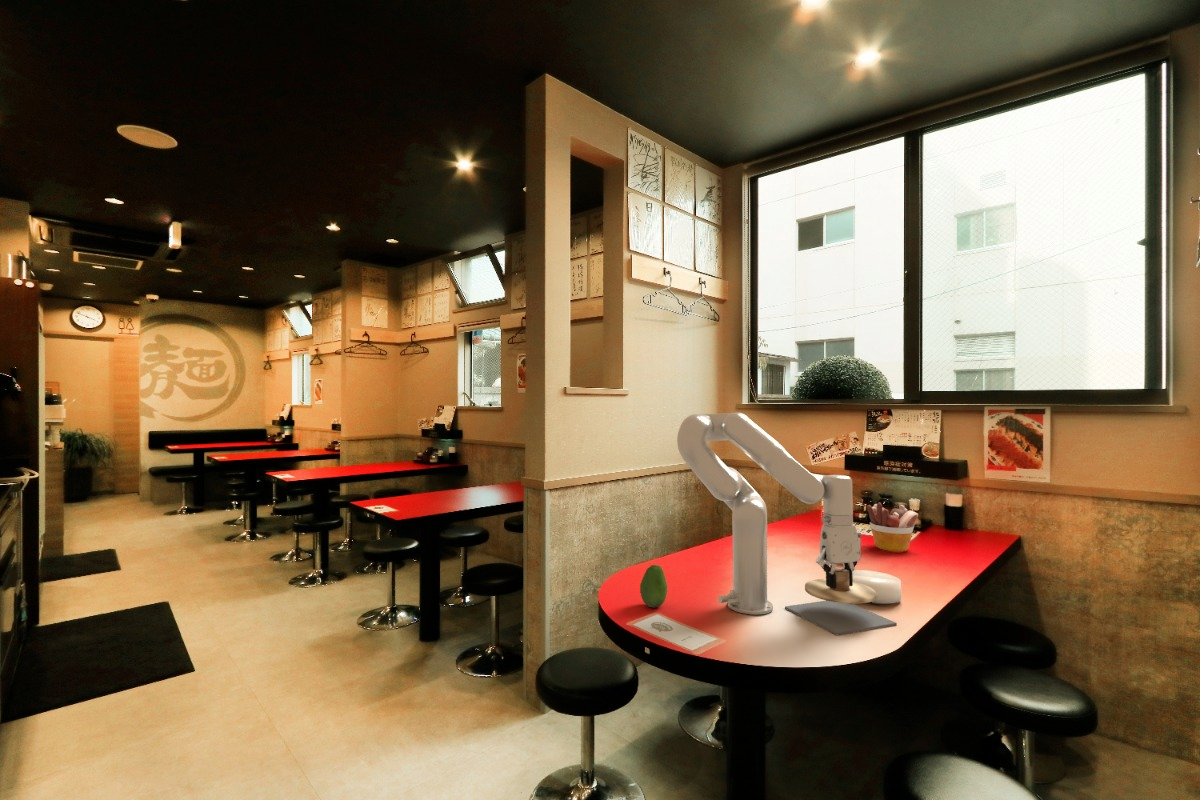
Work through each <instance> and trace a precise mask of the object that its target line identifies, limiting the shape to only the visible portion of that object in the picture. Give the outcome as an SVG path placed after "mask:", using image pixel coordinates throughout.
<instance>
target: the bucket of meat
mask: <svg viewBox="0 0 1200 800" xmlns="http://www.w3.org/2000/svg"><path fill="white" fill-rule="evenodd" d="M898 507H899V508H892V509H891V511H889V509H887V508H885V507H883V504H882V503H881V502H878V503H875V504H873V506H872V505H871V504H869V505H866V509H867V512H868V516H869V519H870V522H869V526H870V528H871V534H872V537H873V542H874V546H875V547H876V548H877V547H878V548H877V549H879V548H880V549H879V550H881V549H883V550H882V551H884V550H888V551H887V552H889V551H905V552H907V551H908V549H909V548H910V544H911V540H912V536H913V531H914V528H915V524H916V522H917V519H918V517H919V513H917V512H915V511H913V510H908V509H907V508H906V506H905V505H902V504H901V505H899V506H898Z"/></svg>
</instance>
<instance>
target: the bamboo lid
mask: <svg viewBox="0 0 1200 800" xmlns="http://www.w3.org/2000/svg"><path fill="white" fill-rule="evenodd" d="M834 574H836V589H833V588H830V587H828V586H826V578H820V579H817V578H816V579H812V580H808V581H807V582H805V584H804V591H805V593H807V594H808V595H810V596H812V597H814V598H816V599H820V600H822V601H831V602H837V603H848V604H854V605H856V604H867V603H870V602H871V601H874V600H875V599H876V592H875V590H874V589H872V588H870V587H868V586H866V585H863V584H860V583H856V582H853V586H849V571H848V570H846V569H844V568H842V567H841V568H840V567H835V571H834Z"/></svg>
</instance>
